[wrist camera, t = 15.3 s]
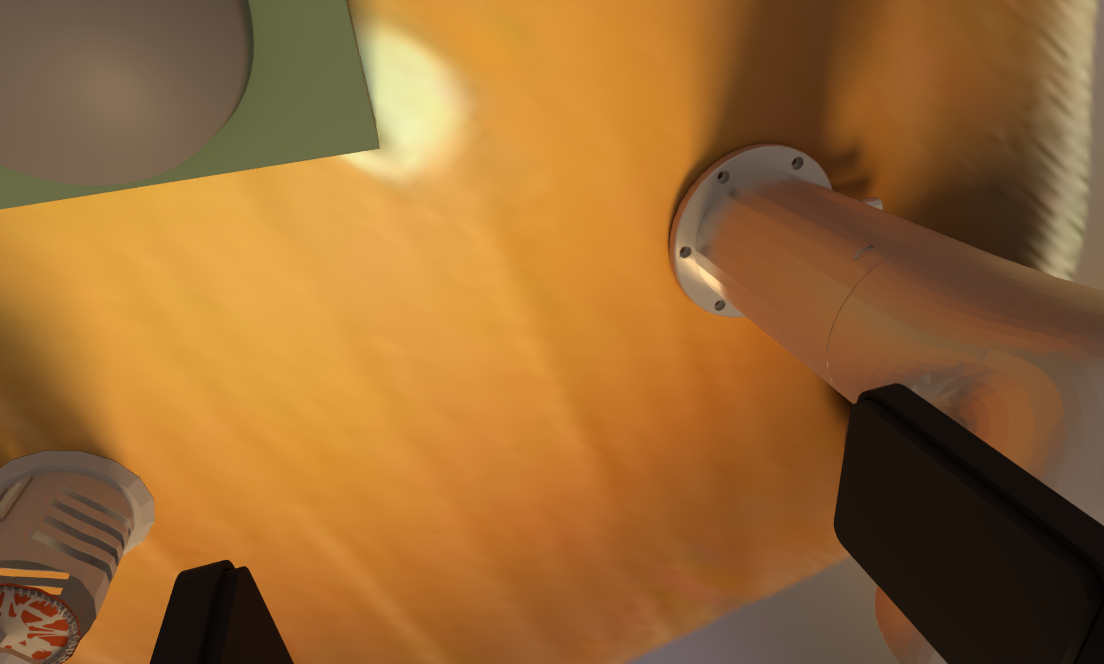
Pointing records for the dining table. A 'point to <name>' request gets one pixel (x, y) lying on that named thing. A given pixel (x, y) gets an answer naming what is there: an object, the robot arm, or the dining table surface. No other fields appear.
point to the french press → (63, 547)
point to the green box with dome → (172, 91)
